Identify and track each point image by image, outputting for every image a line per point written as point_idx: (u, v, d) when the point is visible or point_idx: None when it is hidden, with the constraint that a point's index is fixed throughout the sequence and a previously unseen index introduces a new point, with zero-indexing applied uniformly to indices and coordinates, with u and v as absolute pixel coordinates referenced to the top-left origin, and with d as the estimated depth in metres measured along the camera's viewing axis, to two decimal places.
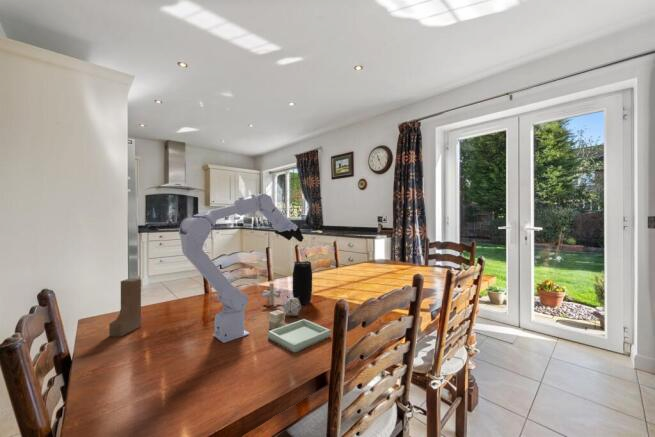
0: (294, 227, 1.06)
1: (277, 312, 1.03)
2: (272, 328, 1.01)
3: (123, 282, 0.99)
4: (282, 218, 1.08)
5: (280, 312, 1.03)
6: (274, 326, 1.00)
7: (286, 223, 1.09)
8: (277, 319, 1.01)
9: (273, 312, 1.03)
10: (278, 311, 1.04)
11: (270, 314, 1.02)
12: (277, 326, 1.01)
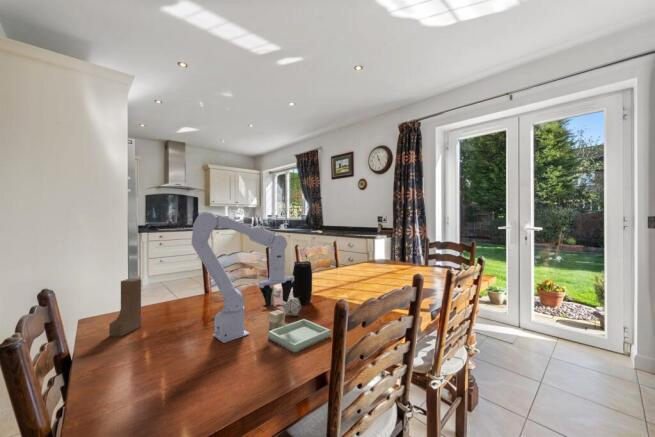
0: (259, 283, 0.98)
1: (277, 312, 1.03)
2: (272, 328, 1.01)
3: (123, 282, 0.99)
4: (271, 270, 1.00)
5: (280, 312, 1.03)
6: (274, 326, 1.00)
7: (271, 278, 1.00)
8: (277, 319, 1.01)
9: (273, 312, 1.03)
10: (278, 311, 1.04)
11: (270, 314, 1.02)
12: (277, 326, 1.01)
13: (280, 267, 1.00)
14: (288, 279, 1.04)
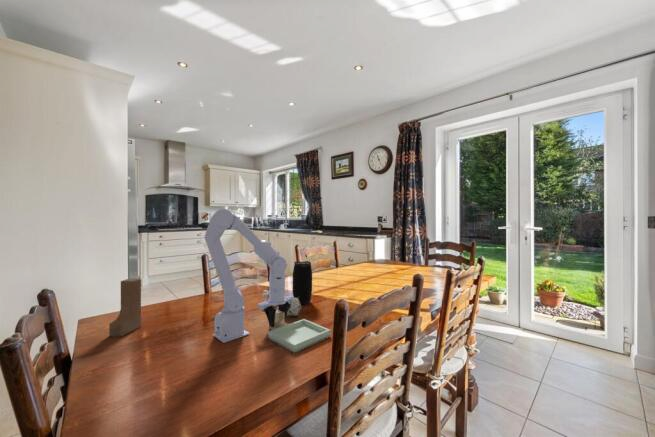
0: (259, 305, 0.98)
1: (277, 312, 1.03)
2: (272, 328, 1.01)
3: (123, 282, 0.99)
4: (271, 292, 1.00)
5: (280, 312, 1.03)
6: (274, 326, 1.00)
7: (271, 299, 1.01)
8: (277, 319, 1.01)
9: None
10: (278, 311, 1.04)
11: None
12: (277, 326, 1.01)
13: (280, 289, 1.00)
14: (288, 300, 1.04)
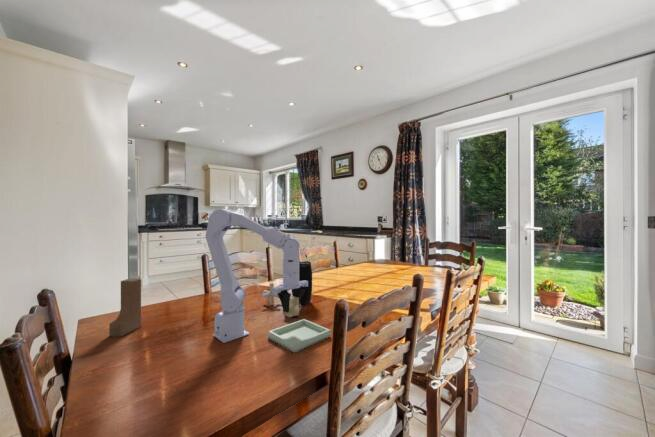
0: (273, 289, 0.93)
1: (291, 297, 0.98)
2: (286, 314, 0.97)
3: (123, 282, 0.99)
4: (285, 275, 0.96)
5: (294, 297, 0.98)
6: (288, 312, 0.96)
7: (285, 283, 0.96)
8: (292, 304, 0.96)
9: None
10: (292, 296, 0.99)
11: None
12: (291, 311, 0.96)
13: (292, 272, 0.95)
14: (302, 284, 0.99)
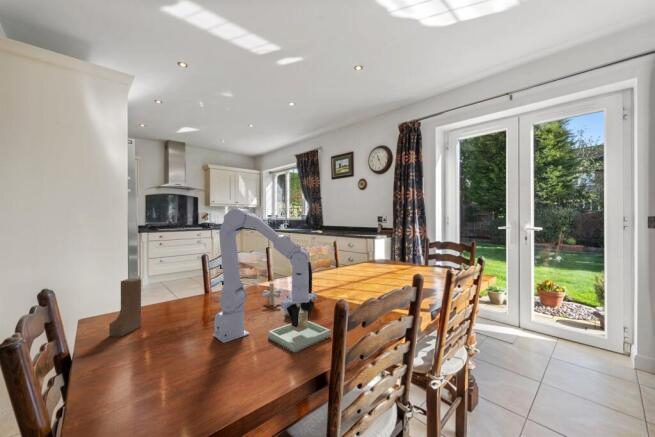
0: (282, 303, 0.90)
1: (300, 311, 0.95)
2: (295, 328, 0.94)
3: (123, 282, 0.99)
4: (294, 289, 0.93)
5: (303, 311, 0.95)
6: (297, 326, 0.93)
7: (294, 297, 0.93)
8: (301, 318, 0.93)
9: None
10: (300, 310, 0.96)
11: None
12: (300, 326, 0.93)
13: (300, 286, 0.92)
14: (311, 298, 0.96)
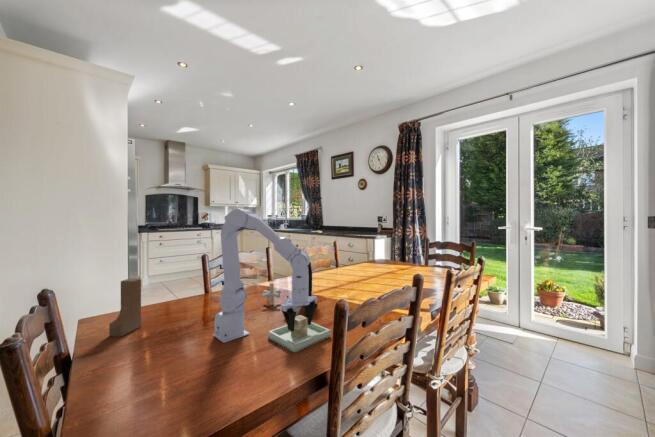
0: (282, 306, 0.90)
1: (300, 318, 0.95)
2: (294, 335, 0.94)
3: (123, 282, 0.99)
4: (294, 292, 0.93)
5: (303, 318, 0.95)
6: (297, 333, 0.93)
7: (294, 300, 0.93)
8: (301, 325, 0.93)
9: (295, 318, 0.95)
10: (300, 316, 0.96)
11: None
12: (300, 333, 0.93)
13: (300, 289, 0.92)
14: (311, 300, 0.97)
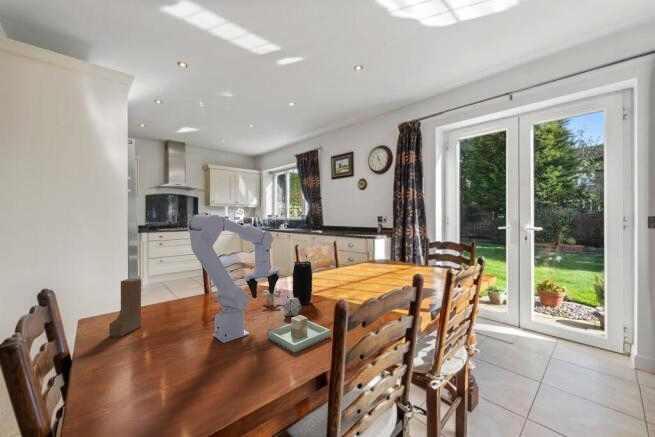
0: (245, 276, 1.04)
1: (300, 318, 0.95)
2: (294, 335, 0.94)
3: (123, 282, 0.99)
4: (257, 264, 1.06)
5: (303, 318, 0.95)
6: (297, 333, 0.93)
7: (256, 271, 1.07)
8: (301, 325, 0.93)
9: (295, 318, 0.95)
10: (300, 316, 0.96)
11: (292, 320, 0.95)
12: (300, 333, 0.93)
13: (268, 260, 1.08)
14: (273, 272, 1.10)
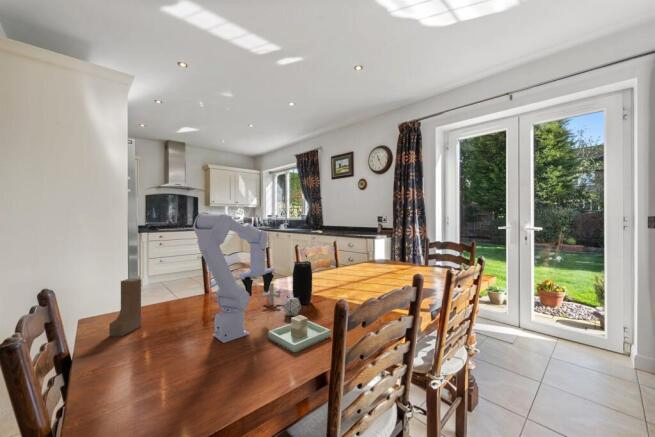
0: (240, 275, 1.06)
1: (300, 318, 0.95)
2: (294, 335, 0.94)
3: (123, 282, 0.99)
4: (252, 263, 1.08)
5: (303, 318, 0.95)
6: (297, 333, 0.93)
7: (251, 270, 1.08)
8: (301, 325, 0.93)
9: (295, 318, 0.95)
10: (300, 316, 0.96)
11: (292, 320, 0.95)
12: (300, 333, 0.93)
13: (264, 259, 1.10)
14: (268, 271, 1.12)
